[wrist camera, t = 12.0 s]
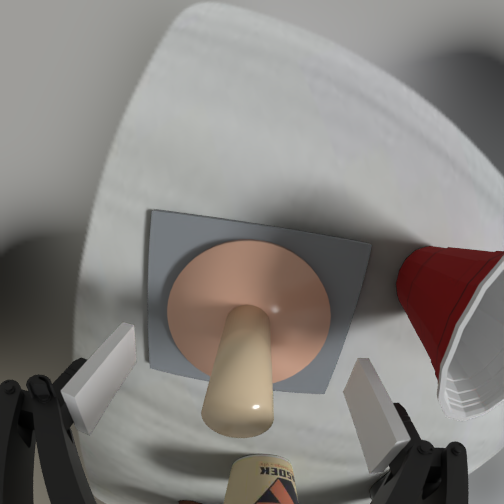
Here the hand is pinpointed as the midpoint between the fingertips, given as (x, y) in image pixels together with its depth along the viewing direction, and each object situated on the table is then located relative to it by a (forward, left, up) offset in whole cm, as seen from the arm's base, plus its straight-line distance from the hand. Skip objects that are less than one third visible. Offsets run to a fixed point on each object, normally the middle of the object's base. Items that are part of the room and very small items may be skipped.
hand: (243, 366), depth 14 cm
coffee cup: (-5, +23, -7) cm, 25 cm away
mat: (0, 0, -7) cm, 7 cm away
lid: (0, 0, -6) cm, 6 cm away
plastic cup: (-14, -5, -7) cm, 16 cm away
